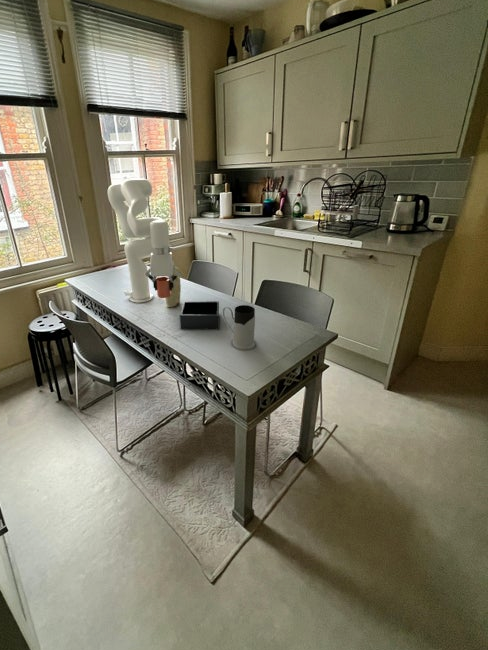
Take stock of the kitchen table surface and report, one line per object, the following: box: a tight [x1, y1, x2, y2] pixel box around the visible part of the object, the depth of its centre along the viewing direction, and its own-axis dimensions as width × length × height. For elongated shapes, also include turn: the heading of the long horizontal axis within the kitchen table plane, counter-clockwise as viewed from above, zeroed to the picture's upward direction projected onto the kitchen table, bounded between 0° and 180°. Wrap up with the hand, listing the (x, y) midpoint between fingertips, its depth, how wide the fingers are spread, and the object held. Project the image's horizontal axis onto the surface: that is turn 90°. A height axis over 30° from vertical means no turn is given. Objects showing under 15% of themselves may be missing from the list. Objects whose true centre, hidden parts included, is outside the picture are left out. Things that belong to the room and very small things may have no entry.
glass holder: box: [222, 304, 256, 350], centre depth 123 cm, size 9×14×15 cm, turn 49°
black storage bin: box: [179, 300, 220, 330], centre depth 142 cm, size 17×15×7 cm
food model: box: [165, 266, 182, 308], centre depth 157 cm, size 10×7×20 cm
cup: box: [156, 276, 171, 299], centre depth 141 cm, size 6×6×8 cm
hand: (163, 289), depth 141 cm, fingers closed on cup, 6 cm apart
